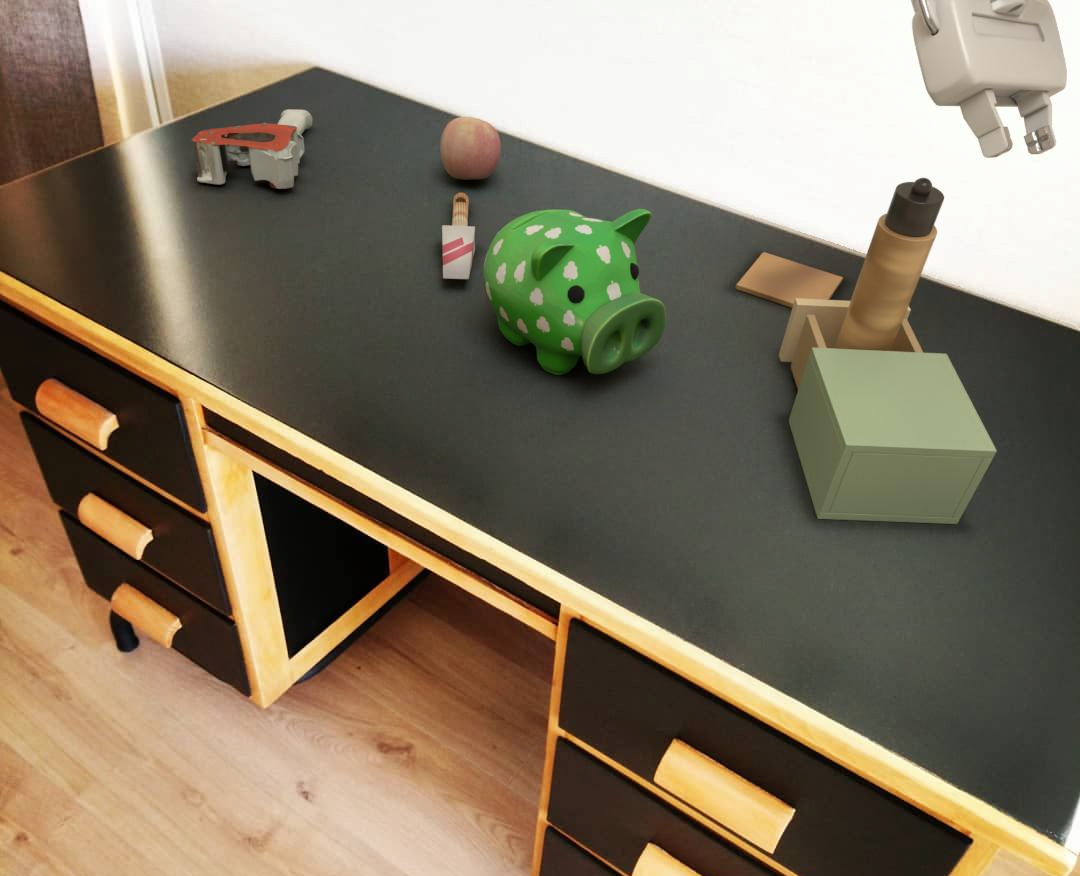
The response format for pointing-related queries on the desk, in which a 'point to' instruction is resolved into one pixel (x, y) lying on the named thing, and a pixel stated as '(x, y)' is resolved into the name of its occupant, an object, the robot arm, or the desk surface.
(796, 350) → the drawer
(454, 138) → the apple
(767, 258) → the cork mat
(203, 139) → the tape dispenser
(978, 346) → the desk surface
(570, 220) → the piggy bank
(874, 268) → the pepper mill
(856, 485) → the cabinet
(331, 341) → the desk surface
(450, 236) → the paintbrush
